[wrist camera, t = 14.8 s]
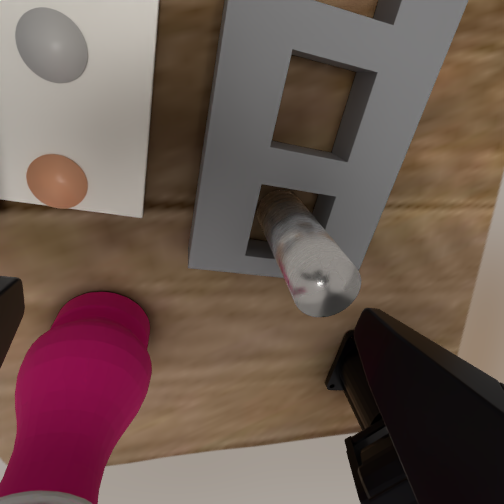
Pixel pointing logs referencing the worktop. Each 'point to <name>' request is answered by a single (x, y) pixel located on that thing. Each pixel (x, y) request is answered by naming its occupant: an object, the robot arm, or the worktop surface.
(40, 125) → the plate
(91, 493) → the pepper mill
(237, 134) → the hole board
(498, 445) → the robot arm
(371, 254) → the worktop surface
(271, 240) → the pin
